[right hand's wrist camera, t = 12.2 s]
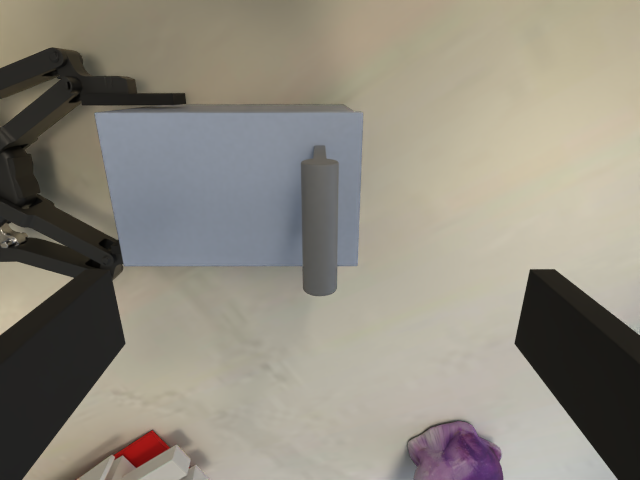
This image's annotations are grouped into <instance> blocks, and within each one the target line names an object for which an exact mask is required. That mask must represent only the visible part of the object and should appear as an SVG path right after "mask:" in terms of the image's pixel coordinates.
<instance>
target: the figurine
mask: <svg viewBox="0 0 640 480" xmlns="http://www.w3.org/2000/svg"><path fill="white" fill-rule="evenodd" d="M408 449H409V454H410V458H411V459H412V461H413V462H414V463H415V465H416V466H417V469H416V471H415V475H414V480H503V473H502V468H501V465H500V462H499V461H500V459H501V457H502V451H501V449H500V448H499V447H498V446H497V445H495V444H494V443H492V442H490V441H487V440H485V439H483V438H480V437H479V436H478V435H477V433H476V431H475V429H474V427H473V426H472V425H471V424H469V423H466V422H462V421H456V422H452V423H447V424H442V425H438V426H435V427H431V428H430V429H428V430H427V431H425V432H424V433H423V434H422V435H420V436H417V437H415V438H413V439H412V440H410V441H409V442H408Z"/></svg>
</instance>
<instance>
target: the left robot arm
mask: <svg viewBox="0 0 640 480" xmlns="http://www.w3.org/2000/svg"><path fill="white" fill-rule="evenodd" d="M82 64H83V59H82V56H81V55H80V54H79V53H78V52H77V51H72V50H66V49H59V48H48V49H46V50H44V51H41V52H39V53H36V54H34V55H31V56H29V57H27V58H24V59H22V60H19V61H17V62H15V63H12V64H10V65H7V66H5V67H2V68H0V99H2V98H5V97H8V96H10V95H13V94H15V93H18V92H20V91H23V90H25V89H28V88H30V87H33V86H35V85H38V84H40V83H43V82H45V81H48V80H50V79H53V78H55V77H57V78H58V79H61V80H60V81H59V82H57V83H56V84H55V85H54V86H52V87H51V88H50V89H49V90H47V91H46V92H45V93H44V94H43V95H41V96H40V97H39V98H38V99H36V100H35V101H34V102H33V103H31V104H30V105H29V106H28V107H26V108H25V109H24V110H23V111H22V112H20V113H19V114H18V115H17V116H15V117H14V118H13V119H12V120H10V121H9V122H8V123H7V124H6V125H4V126H3V127H1V128H0V262H15V261H17V262H21V263H24V264H28V265H31V266H35V267H38V268H42V269H45V270H49V271H52V272H56V273H59V274H63V275H66V276H70V277H73V278H75V277H76V276H78V275H79V274H80V273H82V272H83V271H84V270H85V269H110V272H111V277H112V280H114V279H115V278H116V277H117V276H118V275H119V274H120V273H121V272H122V271H123V266H122V264H123V258H122V253H121V248H120V243H119V240H116V239H114V238H112V237H110V236H108V235H106V234H104V233H103V232H101V231H99V230H97V229H95V228H93V227H91V226H89V225H88V224H86V223H84V222H82V221H80V220H78V219H76V218H74V217H73V216H71V215H69V214H67V213H65V212H63V211H61V210H60V209H58V208H56V207H55V206H54V203H53V202H51V201H49V200H48V199H46V198H44V197H42V196H40V195H38V194H37V193H40V189H39V185H38V182H37V180H36V178H35V177H34V175H33V162H32V158H31V154H27V153H26V152H25V149H26V148H27V147H29V146H30V145H31V144H32V143H34V142H35V141H36V140H37V139H38V138H37V137H38V136H39V135H41V134H42V133H43V132H45V131H46V130H47V129H48V128H50V127H51V126H52V125H53V124H55V123H56V122H57V121H59V120H60V119H61V118H62V117H64V116H65V115H66V114H68V113H69V112H70V111H71V110H73V109H74V108H75V107H76V106H78V105H79V104H80V103H82V105H180V104H186V99H185V93H137V89H136V83H135V79H132V78H130V77H123V76H91V75H90V74H88V73H87V72H86V70H85V69H84V67H83V65H82ZM28 207H29V208H28ZM11 222H12V223H14V224H16V225H18V226H21V227H29V228H32V229H34V230H36V231H38V232H40V233H42V234H44V235H46V236H48V237H50V238H52V239H54V240H56V241H57V242H59V243H61V244H63V245H65V246H63V245H59V244H56V243H53V242H49V241H46V240H42V239H38V238H27V237H28V235H27V234H26V233H24V232H22V233H20V232H16V231H13V230H12V229H11V228H10V227H9V225H8V224H9V223H11ZM66 246H67V247H66Z"/></svg>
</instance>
